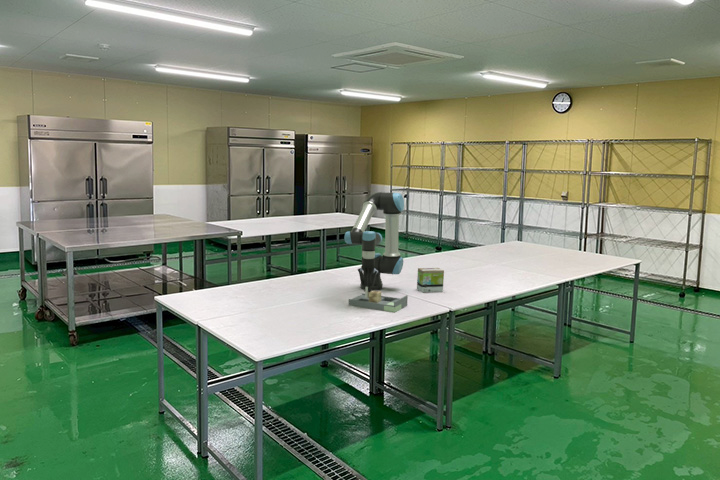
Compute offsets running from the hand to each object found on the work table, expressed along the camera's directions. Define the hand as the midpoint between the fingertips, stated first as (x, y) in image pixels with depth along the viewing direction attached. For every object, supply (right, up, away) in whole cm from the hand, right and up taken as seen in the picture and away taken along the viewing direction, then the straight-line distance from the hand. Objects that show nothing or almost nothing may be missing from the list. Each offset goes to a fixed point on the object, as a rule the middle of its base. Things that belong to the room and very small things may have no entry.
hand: (367, 297), depth 328 cm
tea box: (+42, 0, +43) cm, 60 cm away
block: (+4, -2, 0) cm, 5 cm away
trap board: (+6, -5, +2) cm, 8 cm away
